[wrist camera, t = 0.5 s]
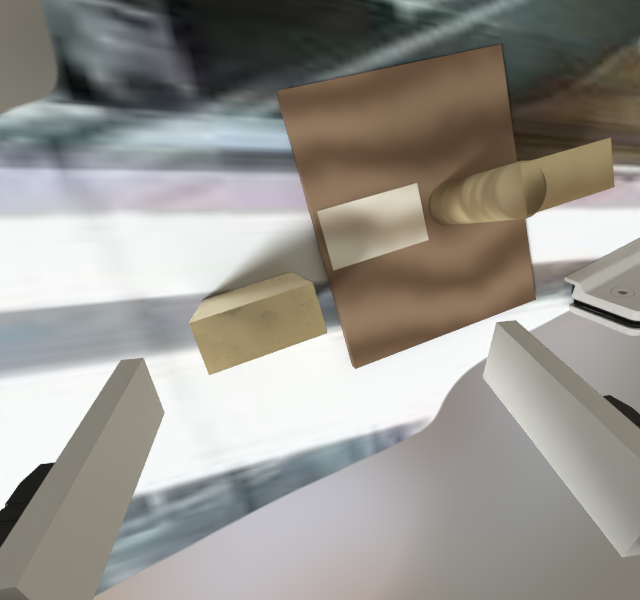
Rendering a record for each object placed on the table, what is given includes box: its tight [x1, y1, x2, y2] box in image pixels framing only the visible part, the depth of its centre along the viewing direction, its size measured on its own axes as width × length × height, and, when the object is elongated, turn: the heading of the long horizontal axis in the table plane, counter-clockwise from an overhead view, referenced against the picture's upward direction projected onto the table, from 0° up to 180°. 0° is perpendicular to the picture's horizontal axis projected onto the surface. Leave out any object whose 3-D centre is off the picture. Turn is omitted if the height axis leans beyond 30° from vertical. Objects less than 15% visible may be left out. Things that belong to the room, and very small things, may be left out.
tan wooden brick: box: [189, 272, 327, 375], centre depth 29 cm, size 4×9×10 cm, turn 106°
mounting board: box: [277, 44, 614, 369], centre depth 31 cm, size 28×24×11 cm
